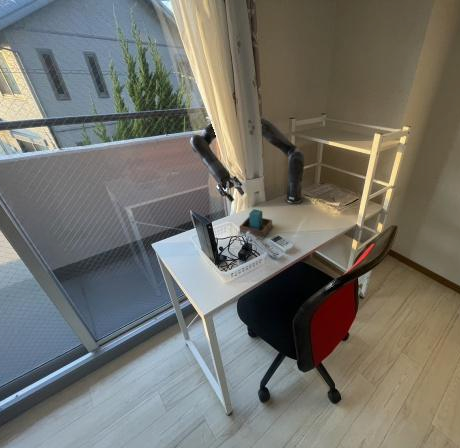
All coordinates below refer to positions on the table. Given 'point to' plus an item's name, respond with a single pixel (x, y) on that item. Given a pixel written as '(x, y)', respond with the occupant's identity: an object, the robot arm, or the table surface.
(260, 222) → the block
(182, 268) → the table surface
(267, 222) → the box
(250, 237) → the caliper
